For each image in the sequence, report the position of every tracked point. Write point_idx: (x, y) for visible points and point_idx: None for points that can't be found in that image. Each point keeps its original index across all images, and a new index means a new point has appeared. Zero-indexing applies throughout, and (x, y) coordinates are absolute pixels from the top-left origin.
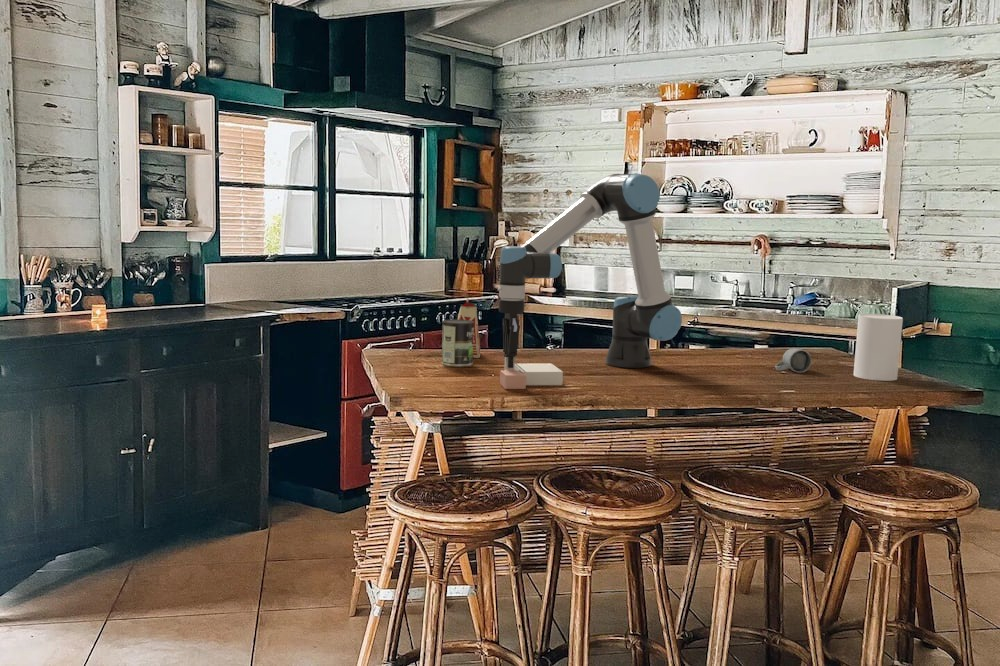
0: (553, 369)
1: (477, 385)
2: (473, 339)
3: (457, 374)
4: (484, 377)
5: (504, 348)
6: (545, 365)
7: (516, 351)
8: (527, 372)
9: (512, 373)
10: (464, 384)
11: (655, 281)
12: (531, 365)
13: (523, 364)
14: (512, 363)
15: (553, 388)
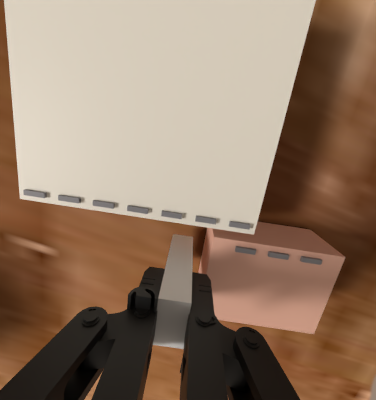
0: (225, 24)
1: None
2: None
3: (28, 341)
4: (79, 285)
5: (95, 381)
6: (79, 21)
7: (277, 367)
8: (258, 214)
9: (283, 296)
10: None
11: None
12: (77, 120)
13: (47, 156)
14: (211, 294)
15: (334, 111)
